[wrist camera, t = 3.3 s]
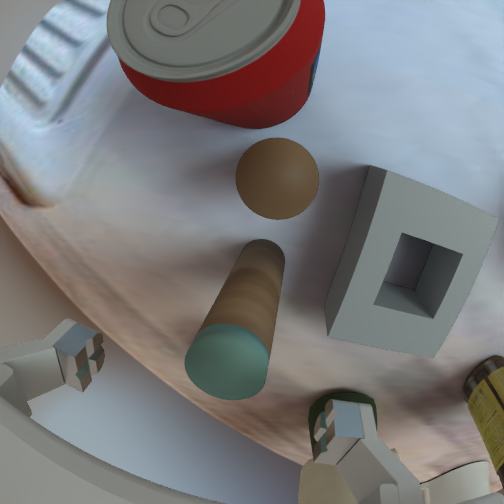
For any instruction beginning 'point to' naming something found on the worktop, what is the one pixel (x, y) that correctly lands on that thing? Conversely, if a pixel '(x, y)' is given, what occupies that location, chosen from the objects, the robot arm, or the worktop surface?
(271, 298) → the long pin
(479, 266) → the socket block
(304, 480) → the character mug
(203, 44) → the beverage can
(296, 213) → the medium pin
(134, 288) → the worktop surface
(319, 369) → the worktop surface
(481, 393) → the sauce bottle
